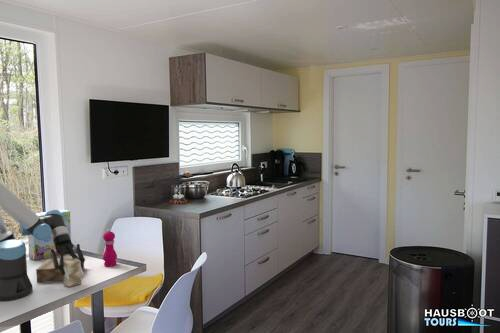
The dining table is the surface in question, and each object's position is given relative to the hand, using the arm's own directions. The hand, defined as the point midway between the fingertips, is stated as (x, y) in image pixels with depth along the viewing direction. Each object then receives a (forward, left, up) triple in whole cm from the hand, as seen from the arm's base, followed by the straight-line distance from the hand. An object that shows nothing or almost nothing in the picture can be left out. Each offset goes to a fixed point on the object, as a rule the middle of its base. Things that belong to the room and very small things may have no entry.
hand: (75, 278), depth 183 cm
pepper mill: (+11, +28, -4) cm, 30 cm away
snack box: (-27, +54, -4) cm, 60 cm away
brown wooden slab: (-11, +18, -4) cm, 21 cm away
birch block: (-2, +3, -3) cm, 5 cm away
